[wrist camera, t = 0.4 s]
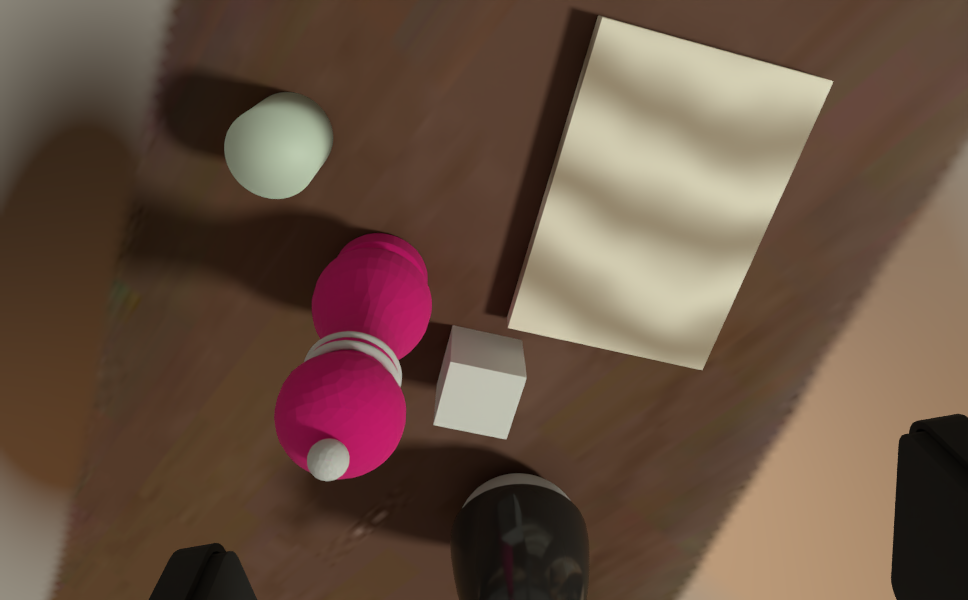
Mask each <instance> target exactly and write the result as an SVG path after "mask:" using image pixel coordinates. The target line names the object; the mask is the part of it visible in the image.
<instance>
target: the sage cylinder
mask: <svg viewBox="0 0 968 600" xmlns="http://www.w3.org/2000/svg"><path fill="white" fill-rule="evenodd" d="M332 145H333V131H332V127H331V123H330V121H329V119H328V117H327V115H326V113H325V112H324V111H323V109H322V108H321V107H320V106H319V105H318V104H317V103H315V102H314V101H313V100H311V99H310V98H308V97H306V96H304V95H301V94H298V93H293V92H281V93H276V94H273V95H271V96H269V97H267V98H265V99H264V100H263V101H261V102H260V103H258V104H257V105H255V106H254V107H252V108H251V109H249V110H248V111H246V112H245V113H244V114H242V115H241V116H239V117H238V118H237V119H236V120H235V121H234V122H233V123H232V125H231V126H230V128H229V130H228V132H227V134H226V138H225V143H224V152H225V158H226V162H227V165H228V167H229V169H230V171H231V173H232V174H233V176H234V177H235V179H236V180H237V181H238V182H239V183H240V184H241V185H242V186H243V187H245V188H246V189H247V190H249V191H250V192H252V193H254V194H256V195H259V196H262V197H265V198H270V199H283V198H288V197H291V196H294V195H296V194H298V193H299V192H301V191H302V190H303V189H304V188H305V187H307V185H308V184H309V183H310V182H311V180H312V179H313V177H314V176H315V175H316V173H317V172H318V170H319V169H320V168H321V166H322V165H323V163H324V162H325V161H326V159H327V158H328V156H329V154H330V152H331V149H332Z"/></svg>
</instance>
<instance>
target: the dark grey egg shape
mask: <svg viewBox="0 0 968 600" xmlns="http://www.w3.org/2000/svg"><path fill="white" fill-rule="evenodd" d="M450 549H451V560H452V567H453V574H454V580H455V585H456V590H457V594H458V598H459V600H587V594H588V585H589V540H588V533H587V528H586V524H585V521H584V518H583V516H582V514H581V512H580V511H579V509H578V508H577V507H576V506H575V505H574V504H573V503H572V502H571V501H570V499H569V498H568V497H567V496H566V494H565V493H564V492H563V491H562V490H561V489H560V488H558V487H557V486H556V485H554V484H553V483H551V482H550V481H548V480H546V479H543V478H541V477H538V476H535V475H531V474H523V473H513V474H506V475H501V476H498V477H495V478H493V479H491V480H489V481H487V482H485V483H484V484H482V485H481V486H479V487H478V488H477V489H476V490H475V491H474V492H473V493H472V494H471V495H470V496H469V498H468V499H467V500H466V502H465V503H464V505H463V507H462V509H461V510H460V512H459V513H458V515H457V516H456V518H455V520H454V523H453V526H452V530H451V539H450Z"/></svg>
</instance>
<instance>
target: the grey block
mask: <svg viewBox="0 0 968 600" xmlns="http://www.w3.org/2000/svg"><path fill="white" fill-rule="evenodd" d="M526 378H527V376H526V368H525V360H524V352H523V345H522V340H519V339H514V338H510V337H505V336H500V335H496V334H491V333H486V332H482V331H477V330H473V329H468V328H463V327H459V326H454V325H452V329H451V333H450V337H449V340H448V344H447V348H446V352H445V356H444V359H443V363H442V367H441V371H440V374H439V378H438V382H437V388H436V400H435V412H434V424H433V425H436V426H441V427H446V428H451V429H456V430H461V431H466V432H471V433H476V434H481V435H486V436H491V437H496V438H501V439H507V436H508V433H509V430H510V427H511V424H512V421H513V418H514V415H515V412H516V409H517V406H518V403H519V400H520V397H521V394H522V391H523V388H524V385H525V382H526Z"/></svg>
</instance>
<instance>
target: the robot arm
mask: <svg viewBox="0 0 968 600" xmlns="http://www.w3.org/2000/svg"><path fill="white" fill-rule="evenodd" d="M898 448H899V449H898V465H897V484H896V501H895V519H894V537H893V554H892V572H891V583H892V587H893V591H894V594H895V597H896V599H897V600H968V417H966V416H965V415H961V414H954V415H949V416H943V417H937V418H931V419H926V420H920V421H916V422H914V423H913V424H912V425H911V427H910V431H909V434H904V435H902V436H901V438H900V440H899V447H898ZM149 600H257V598H256V596H255V594H254V592H253V589H252V587H251V585H250V583H249V581H248V578H247V576H246V574H245V572H244V569H243V567H242V565H241V563H240V560H239V558H238V556H237V555H236V553H234V552H233V551H228V552H226V551H225V549H224V547H223V546H222V545H220V544H219V543H213V544H207V545H201V546H196V547H190V548H184V549H179V550H177V551H176V552H174V553H173V555H172V556H171V558H170V559H169V561H168V563H167V565H166V567H165V569H164V571H163V573H162V575H161V577H160V579H159V581H158V583H157V584H156V586H155V588H154V590H153V592H152V594H151V596H150V598H149Z"/></svg>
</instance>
